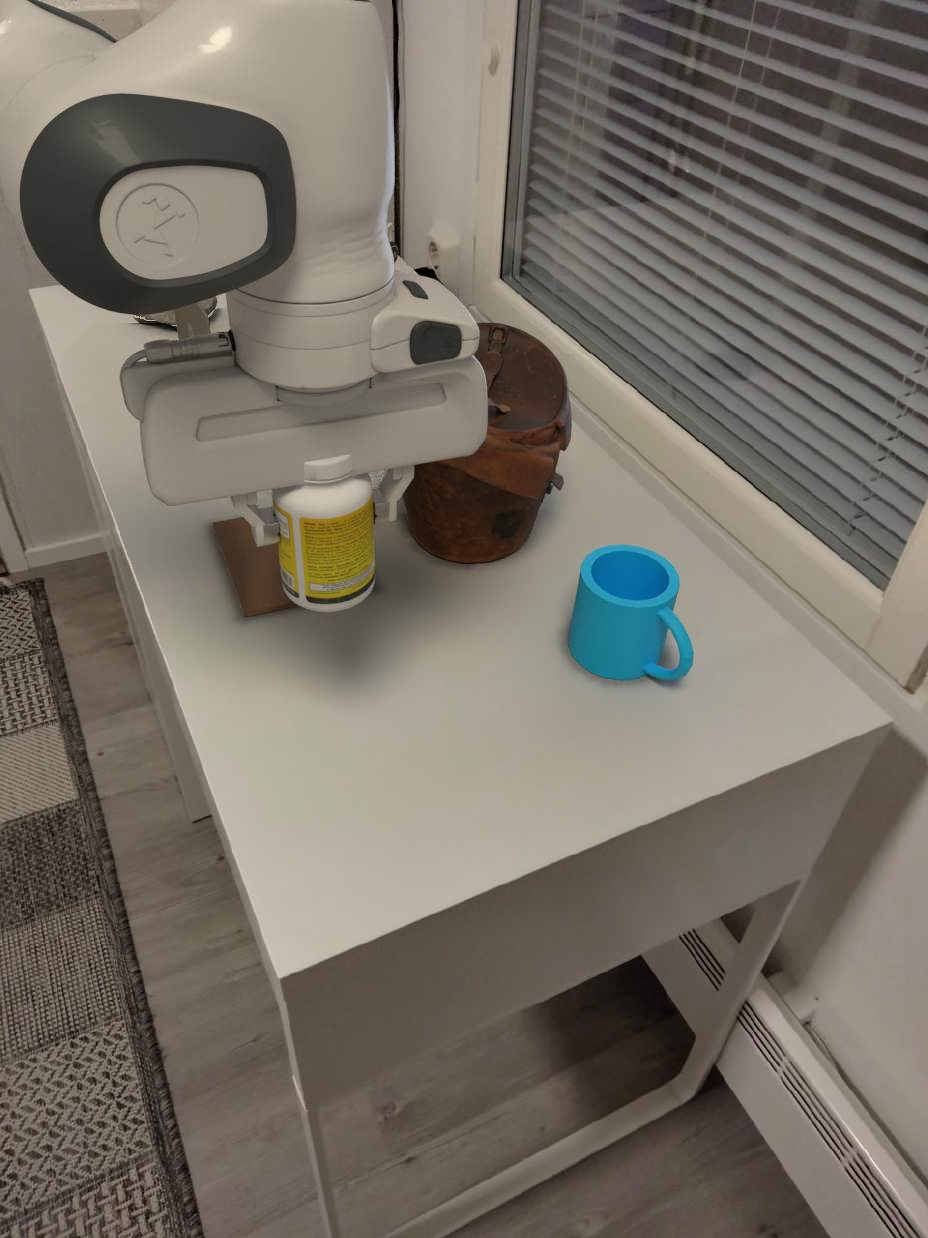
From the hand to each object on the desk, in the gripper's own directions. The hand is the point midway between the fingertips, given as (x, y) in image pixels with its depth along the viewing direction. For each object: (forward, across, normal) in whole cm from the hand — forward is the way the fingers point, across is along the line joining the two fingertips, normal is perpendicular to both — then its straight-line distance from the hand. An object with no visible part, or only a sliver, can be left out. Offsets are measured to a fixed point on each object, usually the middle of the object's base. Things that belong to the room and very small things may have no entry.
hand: (326, 528), depth 60 cm
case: (+20, +20, +22) cm, 36 cm away
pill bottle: (+5, 0, 0) cm, 5 cm away
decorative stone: (+20, -1, +78) cm, 81 cm away
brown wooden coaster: (+20, +2, +23) cm, 31 cm away
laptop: (+20, +6, +58) cm, 62 cm away
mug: (+20, +26, 0) cm, 33 cm away
